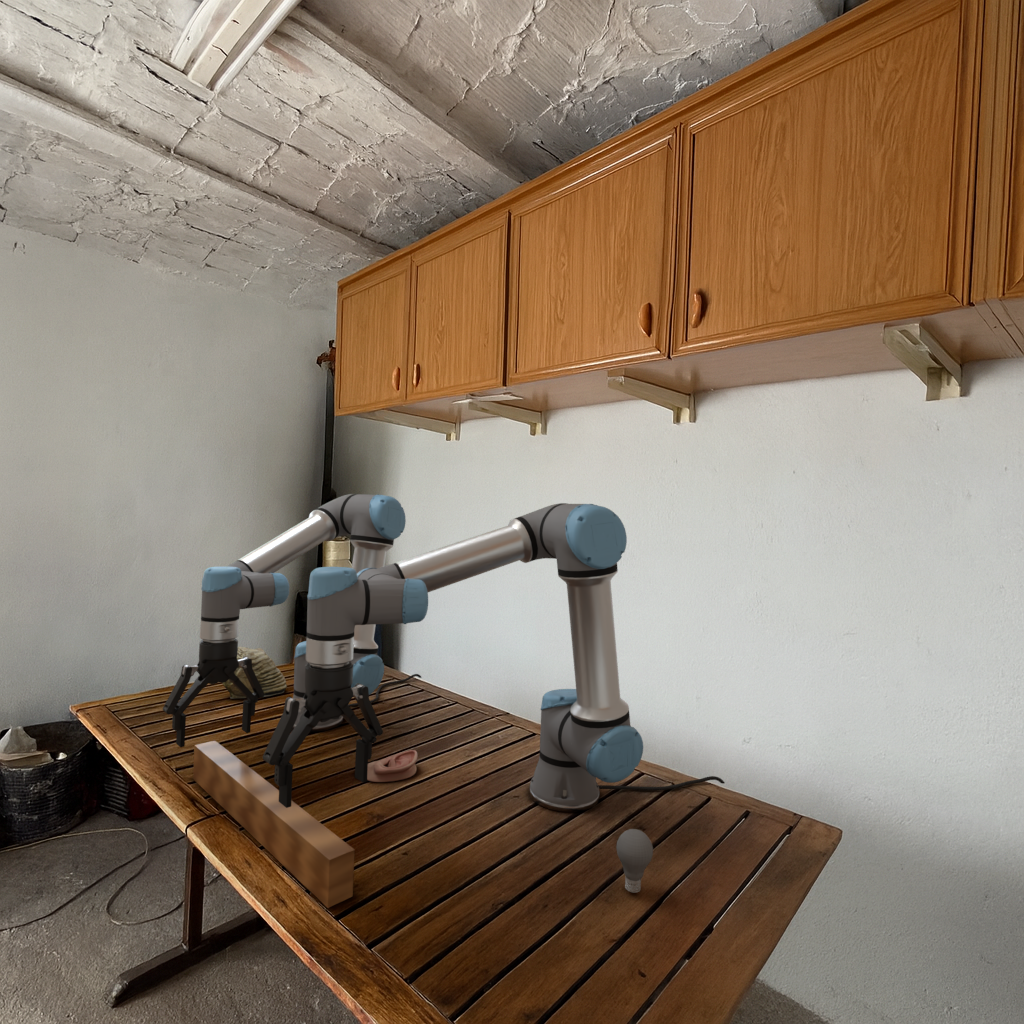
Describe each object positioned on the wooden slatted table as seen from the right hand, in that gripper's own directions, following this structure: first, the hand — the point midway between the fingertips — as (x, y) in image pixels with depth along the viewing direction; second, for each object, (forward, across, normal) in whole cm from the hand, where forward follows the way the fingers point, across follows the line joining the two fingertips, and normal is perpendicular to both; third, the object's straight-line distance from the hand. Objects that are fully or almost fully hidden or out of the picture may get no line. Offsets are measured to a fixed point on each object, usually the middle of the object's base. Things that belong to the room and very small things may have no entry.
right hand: (324, 791), depth 104 cm
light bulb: (+15, +37, -36) cm, 54 cm away
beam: (+15, 0, +23) cm, 28 cm away
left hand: (+5, 0, +46) cm, 46 cm away
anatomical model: (+15, +32, +28) cm, 45 cm away
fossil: (+15, +32, +101) cm, 107 cm away
